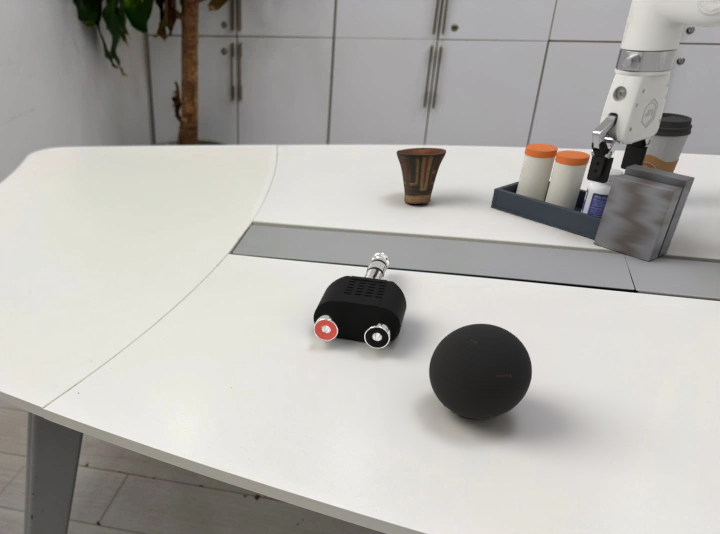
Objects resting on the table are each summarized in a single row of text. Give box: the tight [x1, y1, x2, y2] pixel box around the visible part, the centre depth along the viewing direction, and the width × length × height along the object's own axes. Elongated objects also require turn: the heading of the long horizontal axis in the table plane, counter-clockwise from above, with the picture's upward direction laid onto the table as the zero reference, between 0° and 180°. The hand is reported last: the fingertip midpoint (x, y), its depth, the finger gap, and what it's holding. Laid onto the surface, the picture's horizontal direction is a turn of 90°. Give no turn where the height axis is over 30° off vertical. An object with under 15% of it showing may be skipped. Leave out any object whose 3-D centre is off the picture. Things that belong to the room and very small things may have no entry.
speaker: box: [428, 323, 533, 420], centre depth 70 cm, size 10×10×10 cm
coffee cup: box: [643, 112, 693, 173], centre depth 122 cm, size 8×8×15 cm
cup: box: [396, 147, 447, 205], centre depth 127 cm, size 9×9×10 cm
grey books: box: [593, 164, 696, 262], centre depth 105 cm, size 9×5×12 cm, turn 33°
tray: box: [490, 180, 601, 241], centre depth 120 cm, size 22×12×4 cm, turn 33°
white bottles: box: [516, 143, 591, 210], centre depth 120 cm, size 11×5×10 cm, turn 33°
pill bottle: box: [581, 167, 625, 218], centre depth 114 cm, size 5×5×9 cm
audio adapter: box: [313, 252, 407, 350], centre depth 92 cm, size 11×5×25 cm
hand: (613, 175), depth 111 cm, fingers open, 9 cm apart
